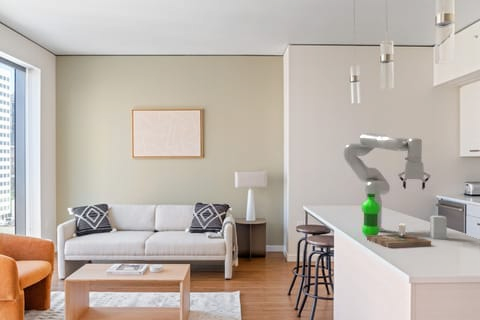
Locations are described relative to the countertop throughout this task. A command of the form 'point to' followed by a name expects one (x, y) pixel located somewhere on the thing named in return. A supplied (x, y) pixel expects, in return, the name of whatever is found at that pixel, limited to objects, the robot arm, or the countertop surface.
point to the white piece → (402, 229)
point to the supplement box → (438, 227)
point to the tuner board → (398, 240)
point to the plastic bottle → (370, 216)
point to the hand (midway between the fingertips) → (413, 189)
